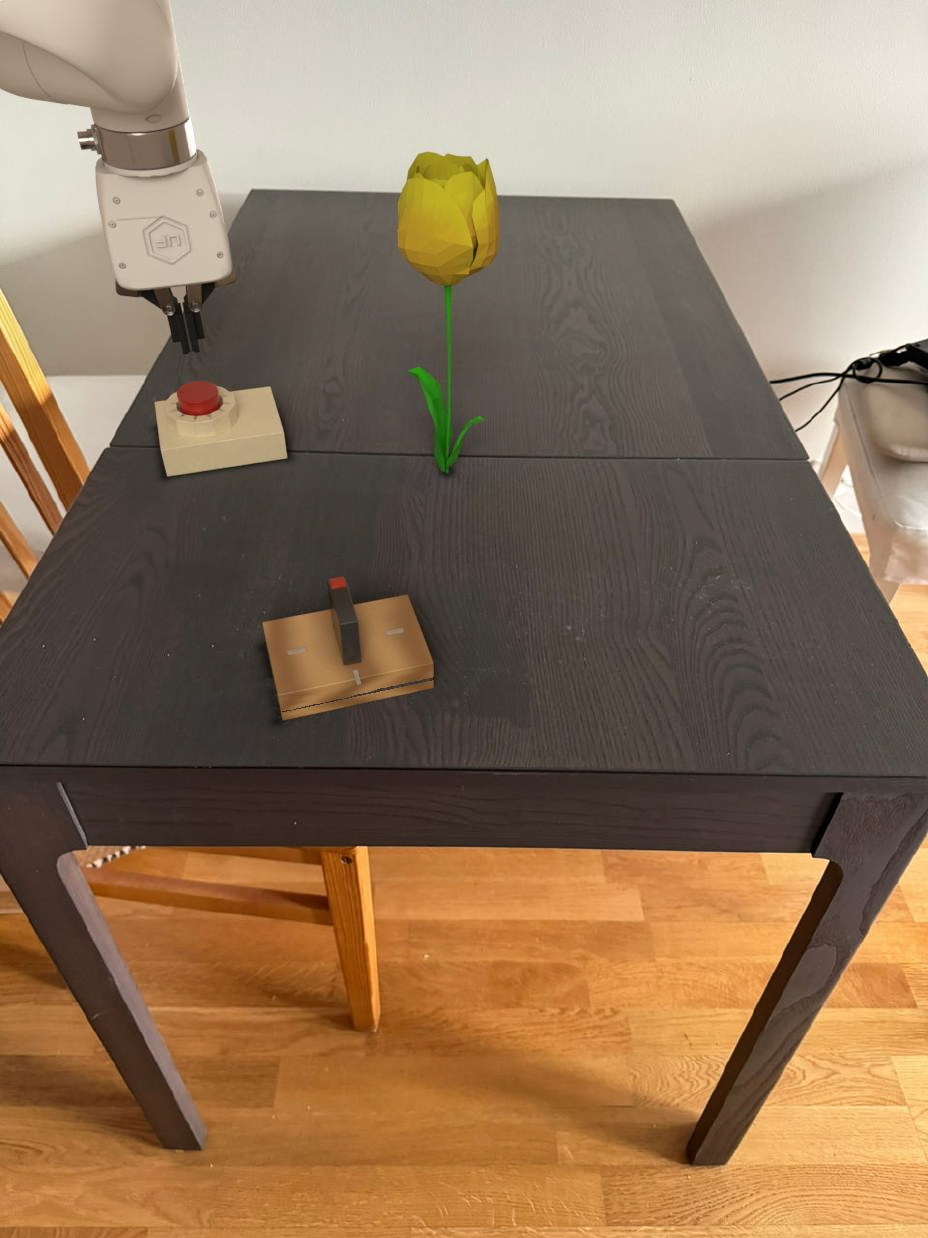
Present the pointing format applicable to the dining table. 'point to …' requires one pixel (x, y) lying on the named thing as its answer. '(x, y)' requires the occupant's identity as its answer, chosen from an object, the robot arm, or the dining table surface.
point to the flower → (447, 251)
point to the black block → (344, 621)
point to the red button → (198, 398)
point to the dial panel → (315, 663)
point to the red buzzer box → (221, 432)
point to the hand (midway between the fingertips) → (190, 345)
